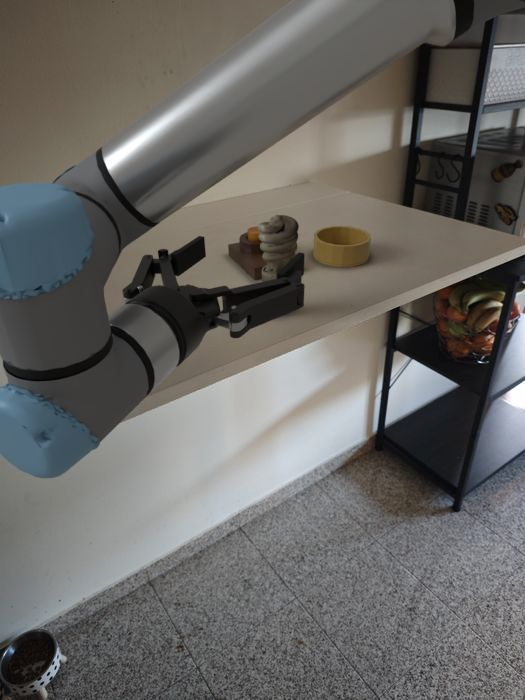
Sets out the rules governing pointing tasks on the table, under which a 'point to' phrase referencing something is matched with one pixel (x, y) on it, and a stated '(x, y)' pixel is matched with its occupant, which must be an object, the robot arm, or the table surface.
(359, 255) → the lamp holder
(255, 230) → the lamp button
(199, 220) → the table surface
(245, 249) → the switch box
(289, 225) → the light bulb
